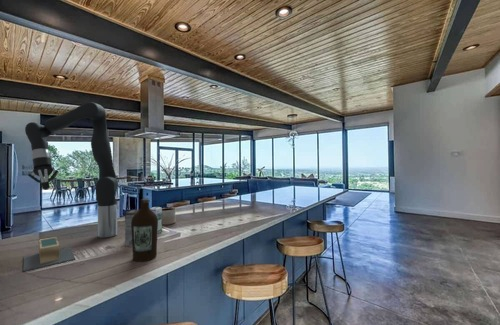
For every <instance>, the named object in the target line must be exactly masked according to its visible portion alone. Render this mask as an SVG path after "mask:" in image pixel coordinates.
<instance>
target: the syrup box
mask: <svg viewBox="0 0 500 325" xmlns="http://www.w3.org/2000/svg"><path fill="white" fill-rule="evenodd" d="M149 208H150V209H151V210H152V211H153V212H154V213H155V214H156V216H157V218H158V230H157V234H159V233H161V232H163V225H162V207H160V206H153V207H149Z"/></svg>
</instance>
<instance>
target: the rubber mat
mask: <svg viewBox="0 0 500 325" xmlns="http://www.w3.org/2000/svg"><path fill="white" fill-rule="evenodd" d="M75 259H77V258H76V256H75V255H74V252H73V251H72V248H71V247H65V248H61V249H60V248H59V260H55V261H51V262H46V263H41V264H40V255H39V253H35V254H31V255H30V254H29V255H24V256H23V266H22V267H23V269H22V271H23V272H29V271H33V270H37V269H41V268H45V267H46V268H47V267H49V266H54V265H59V264H63V263H67V261H68V262H71V260H72V261H76V260H75Z"/></svg>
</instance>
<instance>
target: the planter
mask: <svg viewBox="0 0 500 325" xmlns="http://www.w3.org/2000/svg"><path fill="white" fill-rule="evenodd" d="M161 208H162V207H161ZM176 221H177V220H176V208H174V207H163V208H162V226H168V225H169V226H170V225H174V224H176Z"/></svg>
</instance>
